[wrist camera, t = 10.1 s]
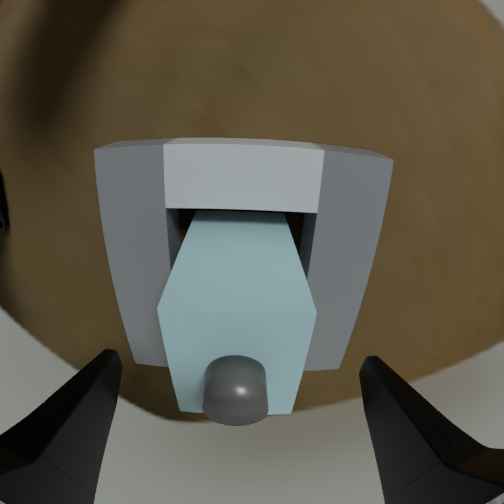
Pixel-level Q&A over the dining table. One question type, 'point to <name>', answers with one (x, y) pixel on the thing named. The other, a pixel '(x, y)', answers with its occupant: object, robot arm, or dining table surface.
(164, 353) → the socket block
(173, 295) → the plug
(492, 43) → the dining table surface
